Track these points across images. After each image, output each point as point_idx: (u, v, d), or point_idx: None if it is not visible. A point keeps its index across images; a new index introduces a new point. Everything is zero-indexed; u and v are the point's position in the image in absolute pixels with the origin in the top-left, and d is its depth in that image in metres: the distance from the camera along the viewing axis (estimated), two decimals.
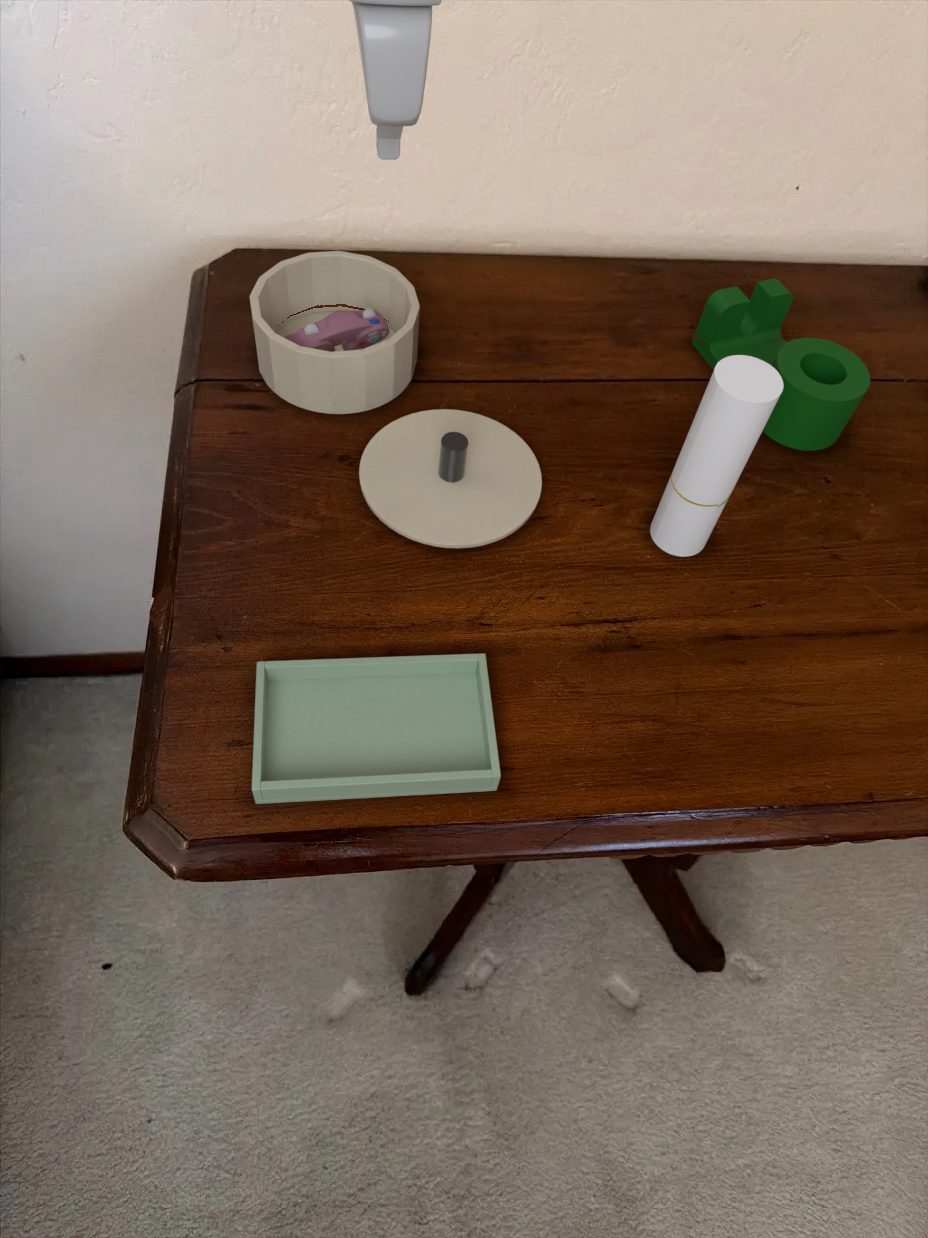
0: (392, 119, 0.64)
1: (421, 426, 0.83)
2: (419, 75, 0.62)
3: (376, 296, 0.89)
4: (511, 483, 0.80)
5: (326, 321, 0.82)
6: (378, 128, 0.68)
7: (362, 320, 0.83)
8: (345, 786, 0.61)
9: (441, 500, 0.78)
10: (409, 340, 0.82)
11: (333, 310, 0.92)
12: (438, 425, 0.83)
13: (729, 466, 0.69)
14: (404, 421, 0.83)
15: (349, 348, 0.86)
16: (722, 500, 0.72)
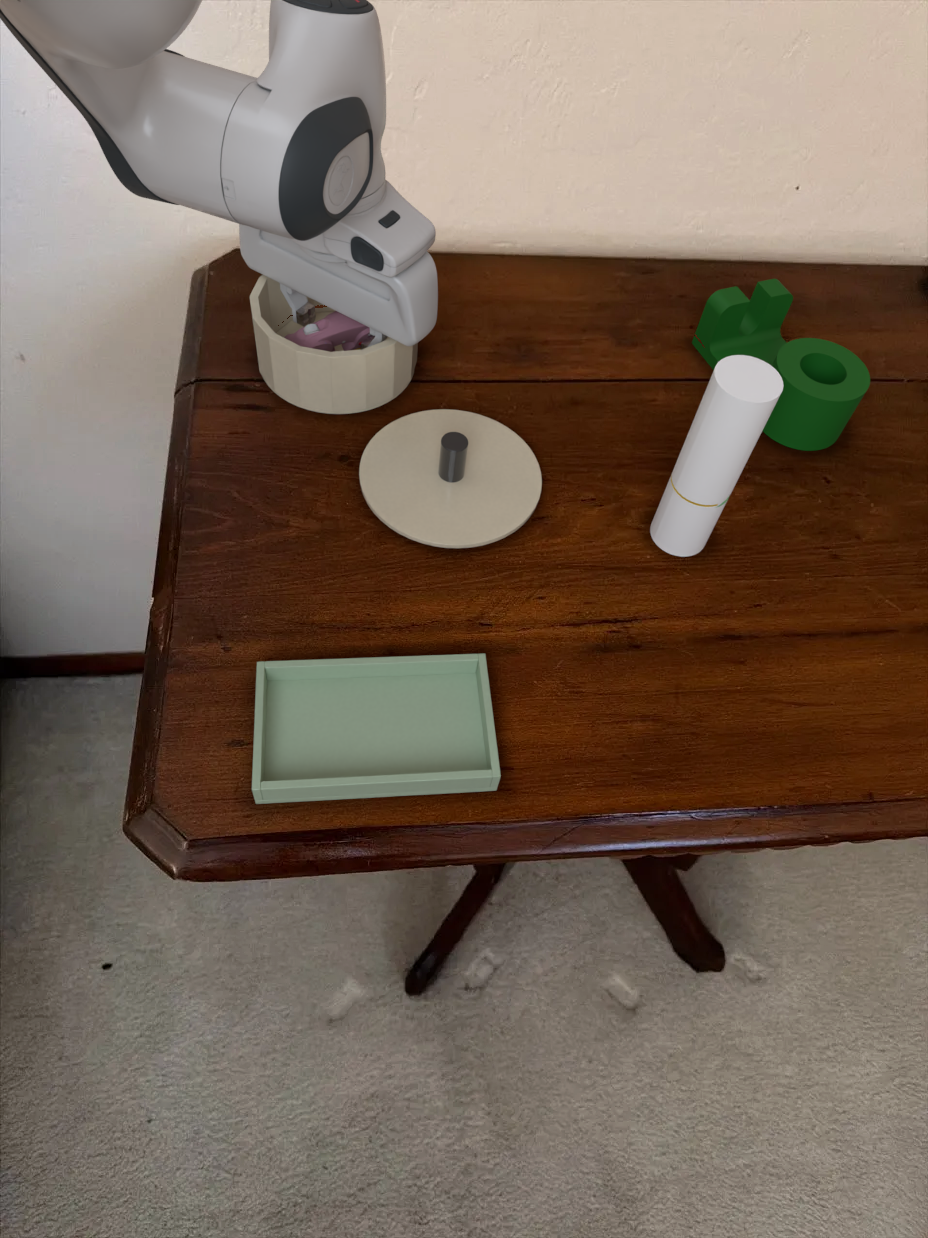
0: (424, 335, 0.79)
1: (421, 426, 0.83)
2: (436, 297, 0.78)
3: None
4: (511, 483, 0.80)
5: (326, 321, 0.82)
6: None
7: None
8: (345, 786, 0.61)
9: (441, 500, 0.78)
10: None
11: (333, 310, 0.92)
12: (438, 425, 0.83)
13: (729, 466, 0.69)
14: (404, 421, 0.83)
15: (348, 348, 0.86)
16: (722, 500, 0.72)
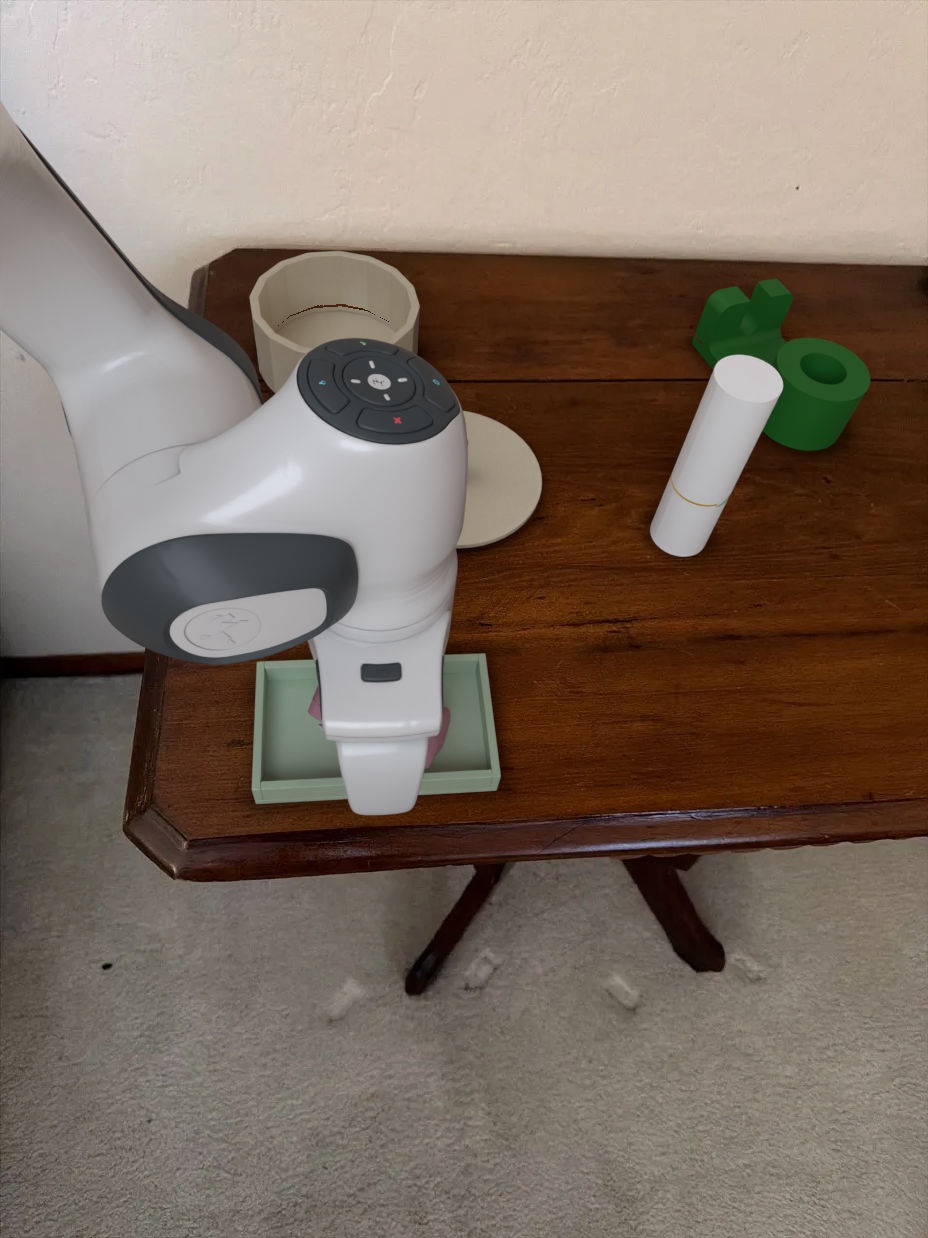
0: (379, 814, 0.52)
1: None
2: (411, 790, 0.50)
3: (376, 296, 0.89)
4: (511, 483, 0.80)
5: None
6: None
7: None
8: None
9: None
10: (409, 340, 0.82)
11: (333, 310, 0.92)
12: None
13: (729, 466, 0.69)
14: None
15: None
16: (722, 500, 0.72)
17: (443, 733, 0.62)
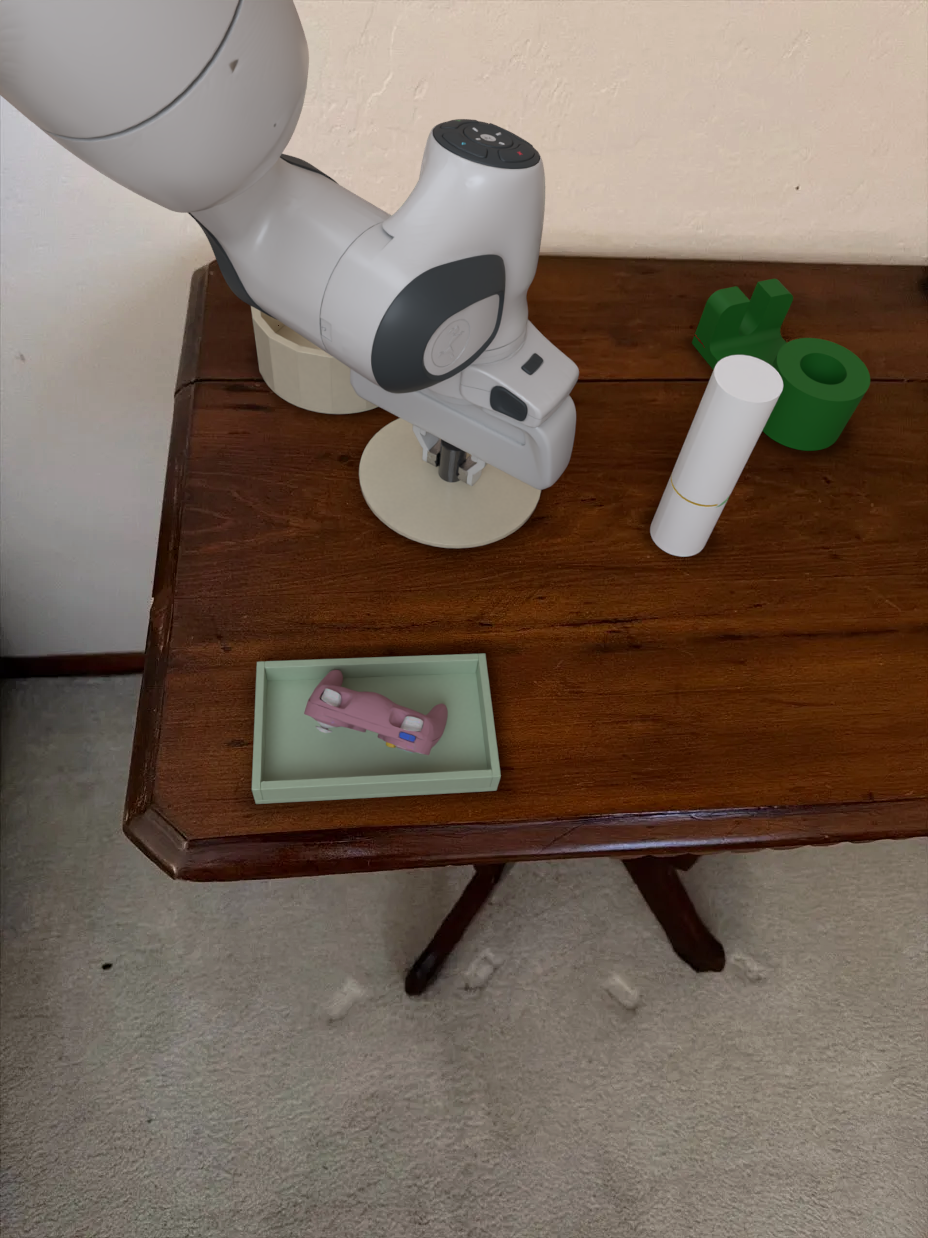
0: (557, 478, 0.72)
1: None
2: (573, 438, 0.71)
3: None
4: (511, 483, 0.80)
5: (350, 700, 0.60)
6: (480, 469, 0.76)
7: (389, 728, 0.60)
8: (345, 786, 0.61)
9: (441, 500, 0.78)
10: None
11: None
12: None
13: (729, 466, 0.69)
14: (404, 421, 0.83)
15: (379, 735, 0.63)
16: (722, 500, 0.72)
17: (439, 722, 0.62)
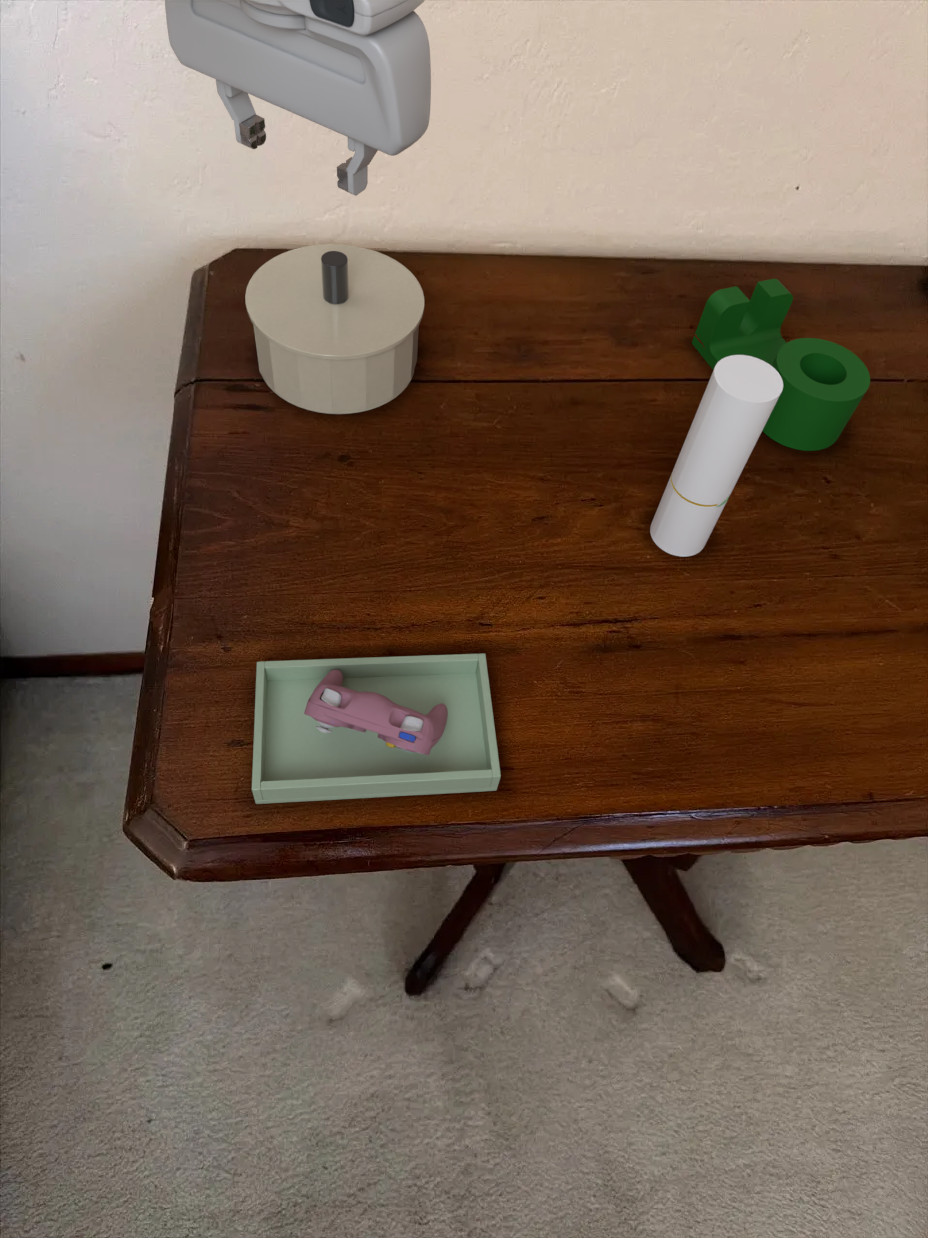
0: (413, 140, 0.59)
1: (311, 257, 0.85)
2: (428, 83, 0.57)
3: None
4: (394, 306, 0.82)
5: (350, 700, 0.60)
6: (361, 163, 0.62)
7: (389, 728, 0.60)
8: (345, 786, 0.61)
9: (323, 319, 0.80)
10: (409, 340, 0.82)
11: None
12: None
13: (729, 466, 0.69)
14: (294, 253, 0.85)
15: (379, 735, 0.63)
16: (722, 500, 0.72)
17: (439, 722, 0.62)
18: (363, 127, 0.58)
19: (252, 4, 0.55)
